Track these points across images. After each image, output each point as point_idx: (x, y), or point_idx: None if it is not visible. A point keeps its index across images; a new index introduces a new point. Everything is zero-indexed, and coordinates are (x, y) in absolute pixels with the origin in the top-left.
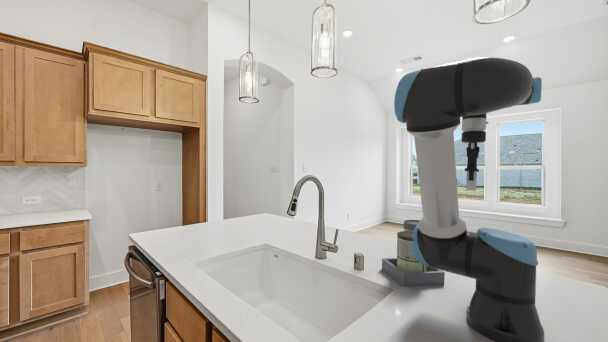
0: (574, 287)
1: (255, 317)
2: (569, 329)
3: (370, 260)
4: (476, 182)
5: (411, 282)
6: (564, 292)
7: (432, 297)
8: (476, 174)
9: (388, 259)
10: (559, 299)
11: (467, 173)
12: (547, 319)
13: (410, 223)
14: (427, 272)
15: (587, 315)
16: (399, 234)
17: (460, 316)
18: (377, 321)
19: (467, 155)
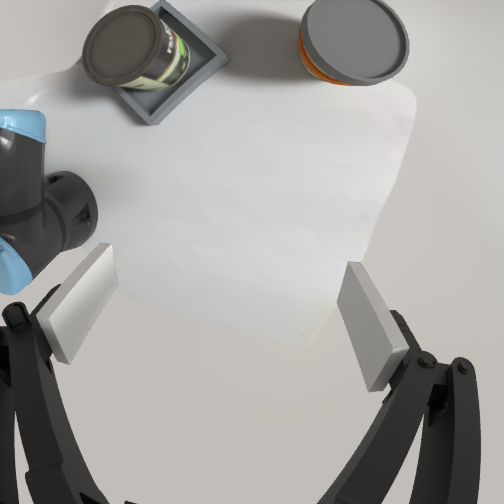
0: (287, 321)
1: None
2: (117, 274)
3: None
4: (349, 329)
5: None
6: (252, 304)
7: (90, 119)
8: (363, 372)
9: (165, 9)
10: (213, 291)
11: (45, 308)
12: (126, 259)
13: (349, 8)
14: (125, 97)
15: (175, 304)
16: (103, 19)
17: (62, 164)
18: (10, 93)
19: (35, 469)
